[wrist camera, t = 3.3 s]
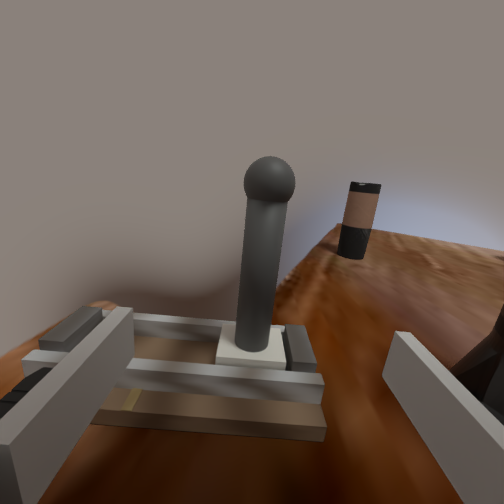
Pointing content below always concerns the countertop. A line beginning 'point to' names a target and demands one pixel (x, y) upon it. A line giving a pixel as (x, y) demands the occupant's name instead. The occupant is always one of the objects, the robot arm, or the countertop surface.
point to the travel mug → (358, 219)
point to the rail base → (197, 379)
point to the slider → (259, 270)
